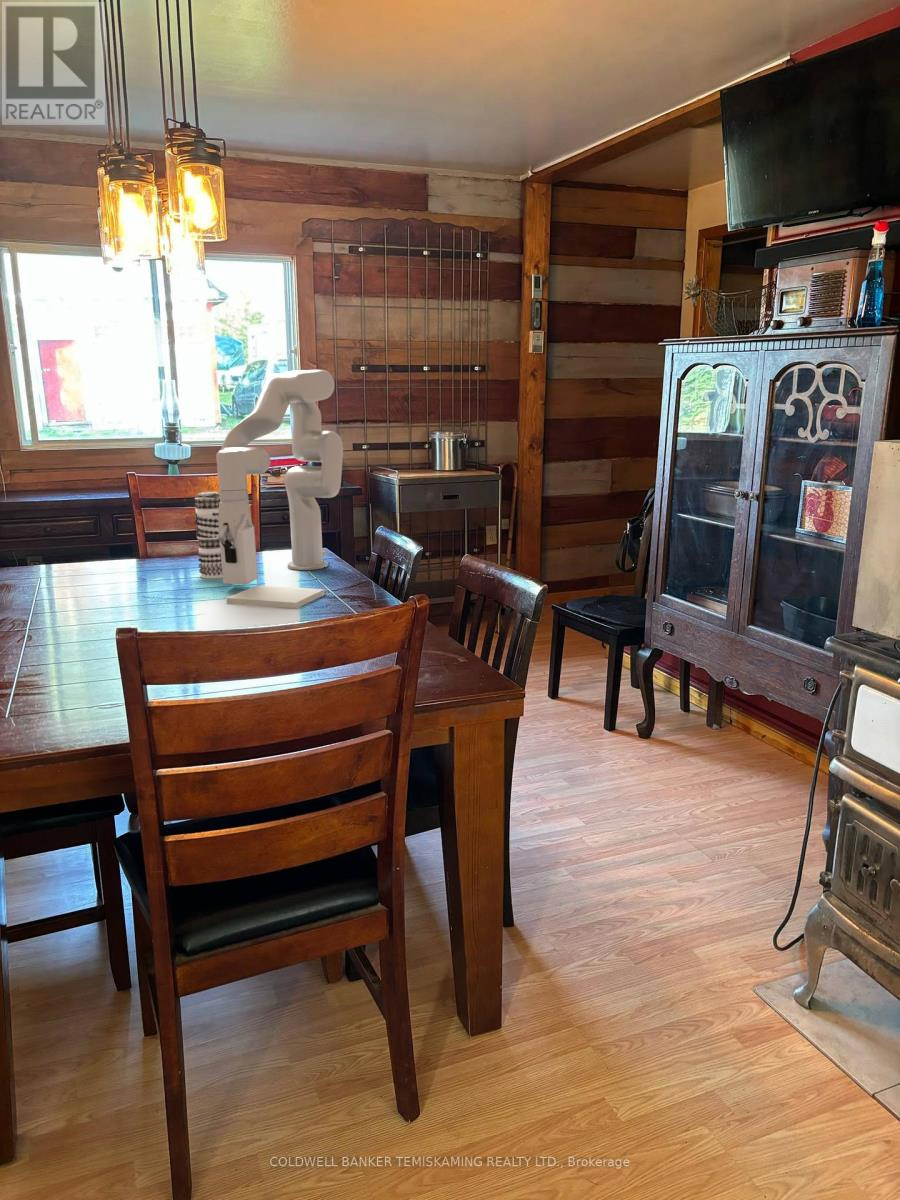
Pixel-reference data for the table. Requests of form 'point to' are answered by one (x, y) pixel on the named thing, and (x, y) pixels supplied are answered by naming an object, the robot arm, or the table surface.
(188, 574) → the table surface
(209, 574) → the decorative candle
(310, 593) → the serving board
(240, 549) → the milk carton
